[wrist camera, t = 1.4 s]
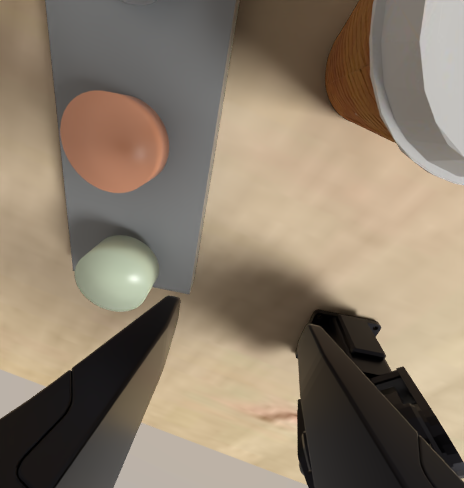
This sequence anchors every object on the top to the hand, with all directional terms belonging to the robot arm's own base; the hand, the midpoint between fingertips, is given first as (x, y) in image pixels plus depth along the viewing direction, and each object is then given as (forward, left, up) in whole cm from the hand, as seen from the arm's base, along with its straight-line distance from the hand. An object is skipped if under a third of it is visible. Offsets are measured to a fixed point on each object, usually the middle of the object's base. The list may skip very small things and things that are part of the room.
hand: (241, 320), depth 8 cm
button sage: (-6, +8, -10) cm, 14 cm away
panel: (+3, +8, -13) cm, 16 cm away
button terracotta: (+3, +8, -10) cm, 13 cm away
